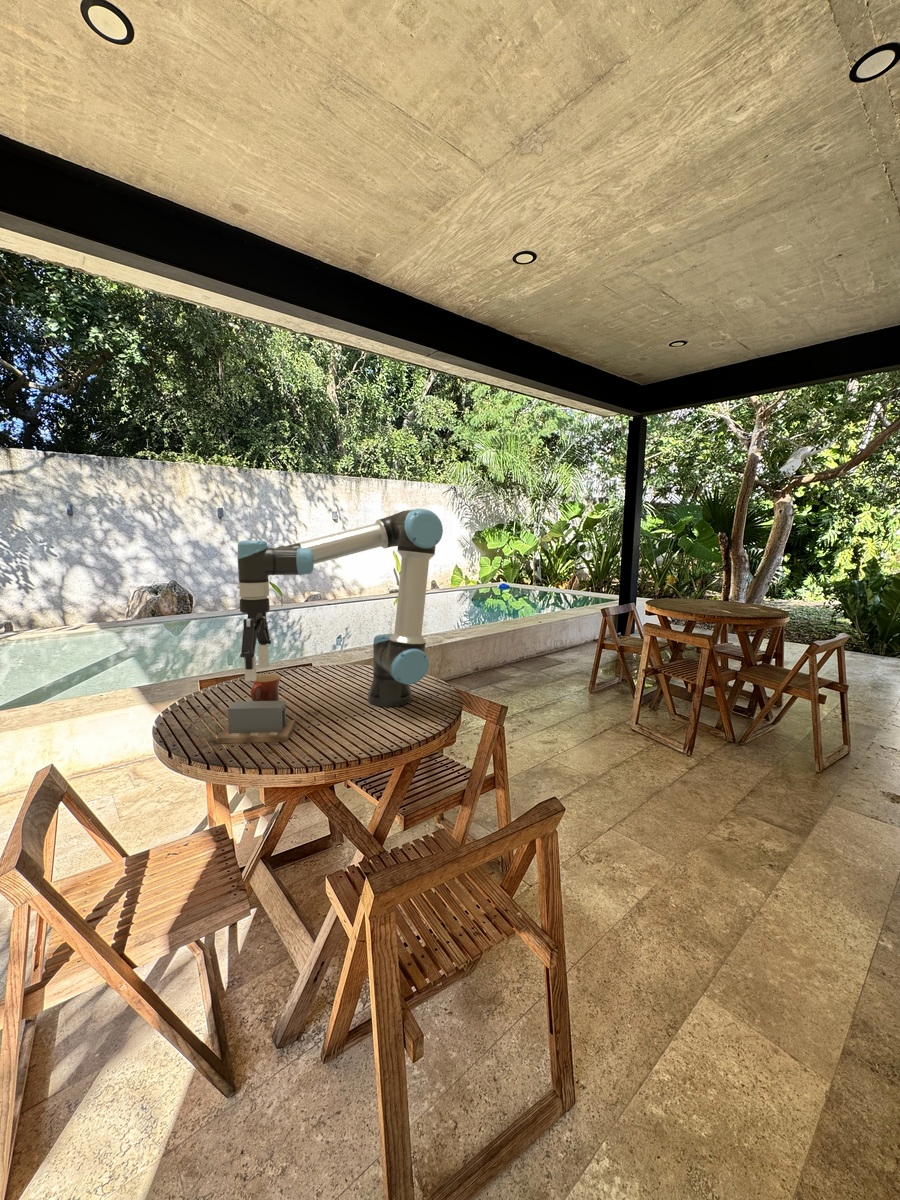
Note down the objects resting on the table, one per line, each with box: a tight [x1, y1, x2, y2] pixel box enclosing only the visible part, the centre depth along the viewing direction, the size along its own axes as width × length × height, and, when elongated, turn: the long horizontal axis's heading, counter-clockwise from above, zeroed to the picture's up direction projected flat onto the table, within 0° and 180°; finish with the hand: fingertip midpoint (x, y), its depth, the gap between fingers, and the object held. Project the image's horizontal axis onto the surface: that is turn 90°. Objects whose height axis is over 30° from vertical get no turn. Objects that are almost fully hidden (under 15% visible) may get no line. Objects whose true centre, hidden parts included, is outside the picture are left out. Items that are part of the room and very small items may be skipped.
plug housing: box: [227, 700, 287, 733], centre depth 137 cm, size 14×6×7 cm, turn 97°
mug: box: [250, 673, 281, 701], centre depth 156 cm, size 12×9×10 cm
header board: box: [216, 719, 296, 745], centre depth 138 cm, size 18×12×6 cm, turn 97°
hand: (257, 673), depth 136 cm, fingers open, 13 cm apart
